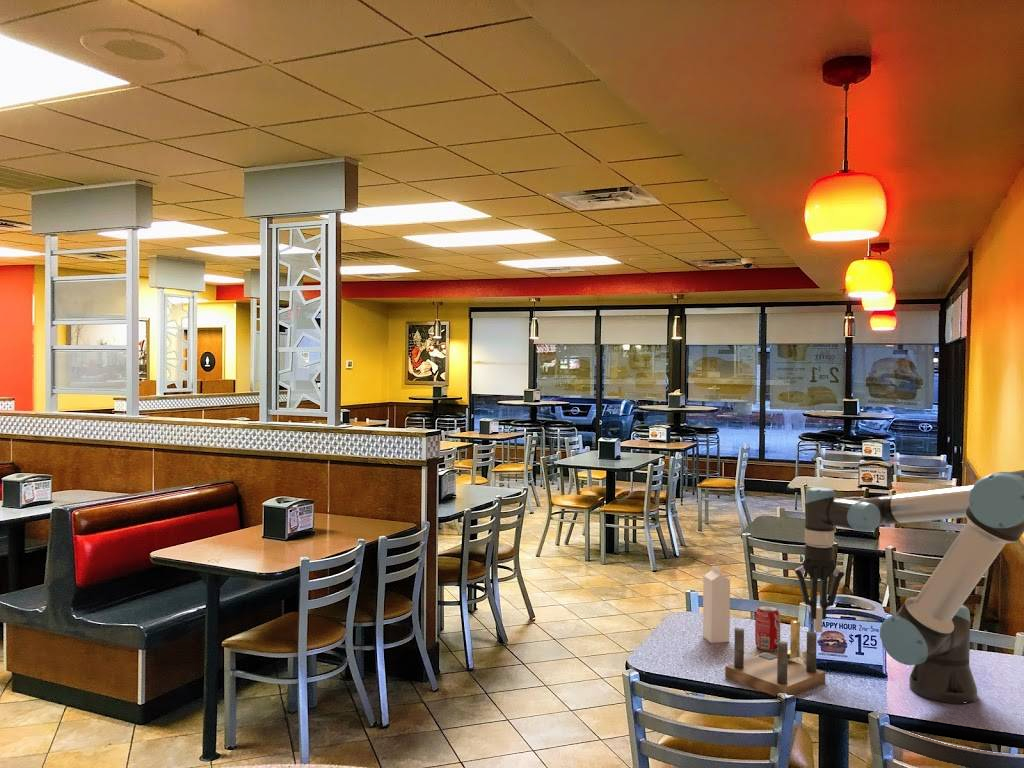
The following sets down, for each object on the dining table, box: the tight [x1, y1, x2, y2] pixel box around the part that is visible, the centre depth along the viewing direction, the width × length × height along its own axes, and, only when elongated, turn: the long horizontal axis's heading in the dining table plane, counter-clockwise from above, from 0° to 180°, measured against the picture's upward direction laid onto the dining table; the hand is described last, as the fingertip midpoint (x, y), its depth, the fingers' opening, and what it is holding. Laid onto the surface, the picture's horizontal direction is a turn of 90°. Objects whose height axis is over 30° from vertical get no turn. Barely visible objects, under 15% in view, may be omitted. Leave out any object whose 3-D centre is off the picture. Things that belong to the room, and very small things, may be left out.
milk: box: [702, 565, 731, 644], centre depth 238 cm, size 6×6×22 cm
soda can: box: [754, 604, 781, 652], centre depth 231 cm, size 7×7×12 cm
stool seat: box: [724, 627, 826, 697], centre depth 206 cm, size 18×18×13 cm
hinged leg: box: [787, 619, 801, 660], centre depth 213 cm, size 5×2×9 cm, turn 127°
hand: (817, 630), depth 214 cm, fingers closed
